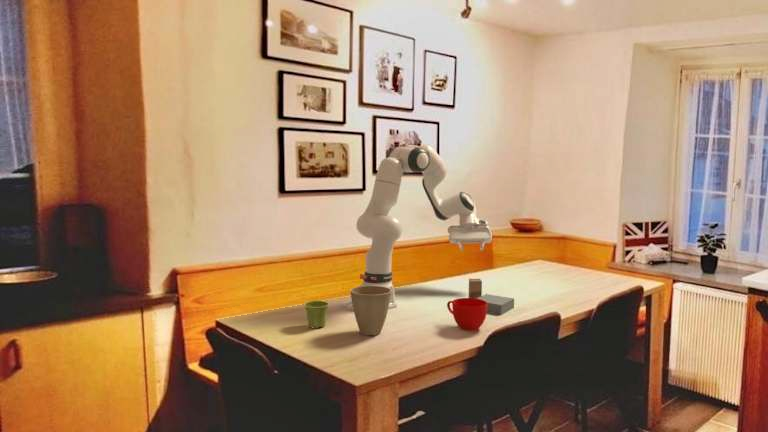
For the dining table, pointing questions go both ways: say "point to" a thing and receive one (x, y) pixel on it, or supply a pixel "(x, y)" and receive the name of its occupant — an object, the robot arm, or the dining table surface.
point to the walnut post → (475, 288)
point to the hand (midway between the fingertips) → (471, 249)
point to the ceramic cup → (468, 312)
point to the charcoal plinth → (498, 303)
